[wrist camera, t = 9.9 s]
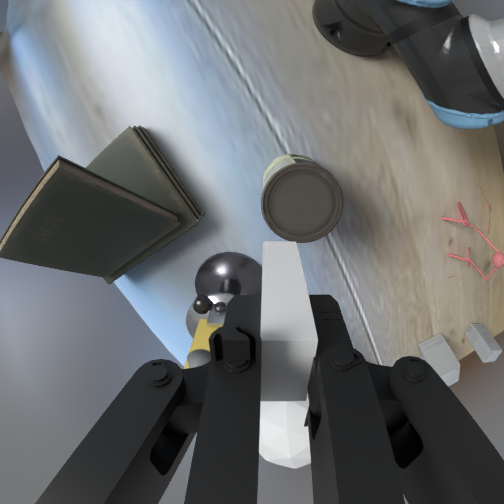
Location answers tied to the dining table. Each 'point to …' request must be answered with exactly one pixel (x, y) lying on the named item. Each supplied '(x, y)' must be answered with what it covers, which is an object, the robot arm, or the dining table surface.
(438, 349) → the supplement box
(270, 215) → the coffee can
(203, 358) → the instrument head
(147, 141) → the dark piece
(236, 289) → the stand
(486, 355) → the skincare box
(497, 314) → the dining table surface
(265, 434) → the lamp
